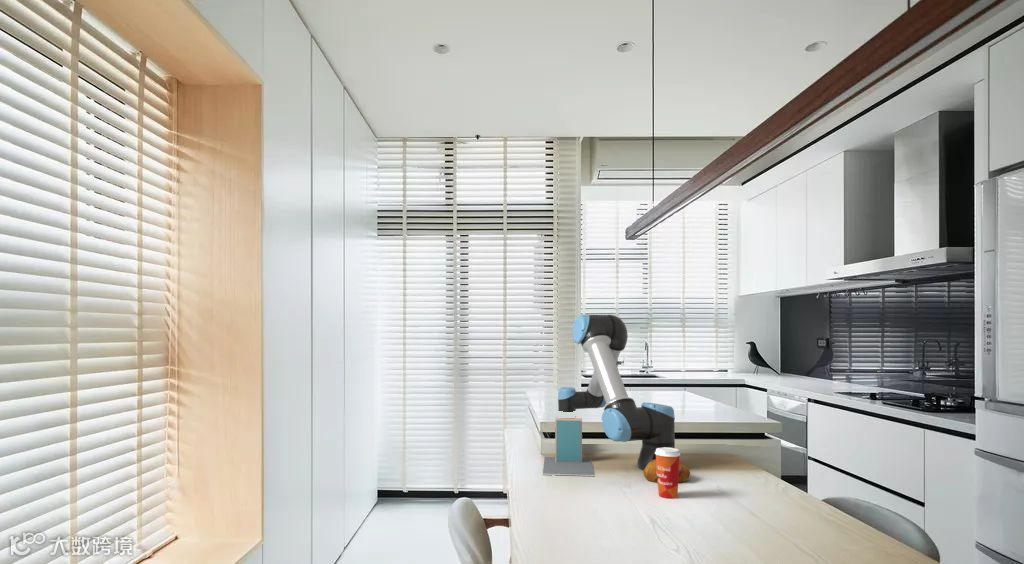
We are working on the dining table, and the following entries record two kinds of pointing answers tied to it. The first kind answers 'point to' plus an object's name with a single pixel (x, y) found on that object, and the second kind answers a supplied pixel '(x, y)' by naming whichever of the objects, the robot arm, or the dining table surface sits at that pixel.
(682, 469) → the croissant
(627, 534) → the dining table surface
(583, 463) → the mat
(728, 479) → the dining table surface
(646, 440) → the robot arm
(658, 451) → the paper cup
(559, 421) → the tile
